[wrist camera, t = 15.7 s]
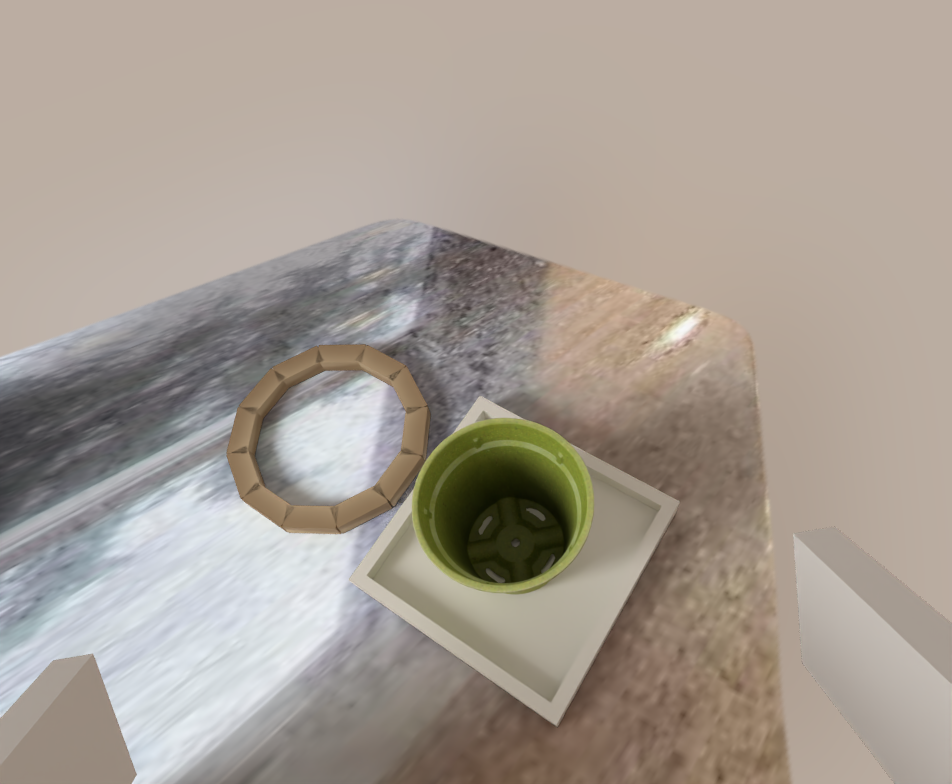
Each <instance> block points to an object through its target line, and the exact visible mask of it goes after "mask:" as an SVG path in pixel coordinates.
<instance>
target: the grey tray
mask: <svg viewBox="0 0 952 784" xmlns="http://www.w3.org/2000/svg"><path fill="white" fill-rule="evenodd" d="M493 418H516V419H523V418H521V417H519V416H517V415H515V414H513V413H512V412H510V411H508V410H506V409H504V408H502V407H500V406H498V405H496V404H495V403H493V402H491V401H489V400H487V399H485V398H483V397H481V396H479V398H478V399H477V401H476V402H475V403H474V405H473V406H472V408H471V409H470V410H469V412H468V413H467V415H466V416H465V417H464V419H463V420H462V422H461V423H460V424H459V426H458V427H457V429H456V430H455V431H454V433H455V432H457V431H458V430H460V429H462V428H464V427H466V426H468V425H470V424H473V423H475V422H479V421H483V420H487V419H493ZM524 420H525V419H524ZM571 445H572V444H571ZM572 446H573V447H574V448H575V450H576V451H577V452H578V453H579V455H580V456H581V458H582V459H583V461H584V463H585V465H586V467H587V469H588V472H589V475H590V478H591V481H592V485H593V490H594V516H593V521H592V526H591V529H590V532H589V535H588V537H587V540H586V542H585V544H584V546H583V548H582V549H581V551H580V553H579V554H578V555H577V557H576V558H575V559H574V560H573V562H572V563H571V564H570V565H569V566H568V567H567V568H566V569H565V570H564V571H562V572H561V573H560V574H559V575H557V576H556V577H555V578H553V579H551V580H550V581H549V582H548V583H547V584H546V585H544V586H543V587H541V588H540V589H537V590H535V591H532V592H529V593H524V594H506V593H491V592H484V591H480V590H476V589H473V588H470V587H467V586H465V585H462V584H460V583H458V582H456V581H454V580H452V579H451V578H450V577H448V576H447V575H445V574H444V573H443V572H442V571H440V570H439V569H438V568H437V567H436V566H435V565H434V564H433V563H432V562H431V561H430V559H429V558H428V557H427V555H426V554H425V552H424V551H423V549H422V548H421V545H420V544H419V542H418V539H417V536H416V533H415V530H414V527H413V520H412V494H413V490H414V489H413V490H412V492H411V493H410V494H409V496H408V497H407V499H406V500H405V501H404V503H403V504H402V506H401V507H400V508H399V510H398V511H397V513H396V514H395V515H394V517H393V518H392V520H391V521H390V522H389V524H388V525H387V527H386V528H385V529H384V531H383V532H382V534H381V535H380V536H379V538H378V539H377V541H376V542H375V543H374V545H373V546H372V548H371V549H370V550H369V552H368V553H367V555H366V556H365V557H364V559H363V560H362V562H361V563H360V564H359V566H358V567H357V569H356V570H355V571H354V573H353V574H352V576H351V577H350V578H349V581H351V582H352V583H353V584H354V585H355V586H357V587H358V588H359V589H361V590H362V591H364V592H365V593H366V594H368V595H369V596H371V597H372V598H373V599H375V600H376V601H378V602H379V603H381V604H382V605H383V606H385V607H386V608H388V609H389V610H391V611H392V612H393V613H395V614H396V615H398V616H399V617H401V618H402V619H403V620H405V621H406V622H408V623H409V624H411V625H412V626H413V627H415V628H416V629H418V630H419V631H420V632H422V633H423V634H425V635H426V636H428V637H429V638H430V639H432V640H433V641H435V642H436V643H438V644H439V645H440V646H442V647H443V648H445V649H446V650H448V651H449V652H450V653H452V654H453V655H455V656H456V657H457V658H459V659H460V660H462V661H463V662H465V663H466V664H467V665H469V666H470V667H472V668H473V669H475V670H476V671H477V672H479V673H480V674H482V675H483V676H485V677H486V678H487V679H489V680H490V681H492V682H493V683H494V684H496V685H497V686H499V687H500V688H502V689H503V690H504V691H506V692H507V693H509V694H510V695H512V696H513V697H514V698H516V699H517V700H519V701H520V702H522V703H523V704H524V705H526V706H527V707H529V708H530V709H531V710H533V711H534V712H536V713H537V714H539V715H540V716H541V717H543V718H544V719H546V720H547V721H549V722H550V723H551V724H553V725H554V726H556V727H558V726H559V724H560V722H561V720H562V718H563V716H564V715H565V713H566V711H567V709H568V707H569V706H570V704H571V702H572V700H573V698H574V697H575V695H576V693H577V691H578V689H579V687H580V686H581V684H582V682H583V680H584V678H585V677H586V675H587V673H588V671H589V669H590V668H591V666H592V664H593V662H594V660H595V658H596V657H597V655H598V653H599V651H600V649H601V648H602V646H603V644H604V642H605V640H606V639H607V637H608V635H609V633H610V631H611V629H612V628H613V626H614V624H615V622H616V620H617V619H618V617H619V615H620V613H621V611H622V610H623V608H624V606H625V604H626V602H627V600H628V599H629V597H630V595H631V593H632V591H633V590H634V588H635V586H636V584H637V582H638V581H639V579H640V577H641V575H642V573H643V571H644V570H645V568H646V566H647V564H648V562H649V561H650V559H651V557H652V555H653V553H654V552H655V550H656V548H657V546H658V544H659V542H660V541H661V539H662V537H663V535H664V533H665V532H666V530H667V528H668V526H669V524H670V523H671V521H672V519H673V517H674V515H675V513H676V511H677V509H678V506H679V503H680V501H678V500H676V499H674V498H672V497H670V496H669V495H667V494H665V493H663V492H661V491H659V490H657V489H655V488H653V487H652V486H650V485H648V484H646V483H644V482H642V481H640V480H638V479H636V478H635V477H633V476H631V475H629V474H627V473H625V472H623V471H621V470H619V469H617V468H616V467H614V466H612V465H610V464H608V463H606V462H604V461H602V460H600V459H599V458H597V457H595V456H593V455H591V454H589V453H587V452H585V451H583V450H582V449H580V448H578V447H576V446H574V445H572ZM526 510H527V511H530V513H532V514H534V515H535V516H537V517H538V518H539V519H540V520H542V521H544V520H545V516H544V515H543V514H542V513H541V512H539V511H538V510H535V509H532V508H528V509H527V508H526ZM492 519H493V518H492V516H488V517H487V518H486V519H485V520H484V521H483V524H482V526H481V527H480V529H479V534H480V535H481V534H483V531H484V530H485V528H486V527H487V525H488V524H489V523H490V521H492ZM519 544H520V541H519V540H518V539H514V540H513V541H512V545H513V546H514V547H517V546H518V545H519ZM554 559H555V556H554V554H551V556H550V558H549V560H548V562H547V563H546V565H545V566H544V568H543V569H542V570H541V573H544V572H545V571H547V570H548V569H549V568H550V567H551V565H552V564H553V562H554ZM486 573H487V574H488V575H489V576H490V577H491V578H493V579H494V580H495V581H497V582H498V583H504V582H505V579H504V578H503V577H500V576H498V575H496V574H495V573H494V572H493V571H492V570H491V569H489V568H487V569H486Z"/></svg>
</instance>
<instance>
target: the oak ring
mask: <svg viewBox="0 0 952 784" xmlns="http://www.w3.org/2000/svg"><path fill="white" fill-rule="evenodd" d="M273 369H274V370H273ZM273 369H272V368H271V369H270V370H269V371H268V372H267V373H266V375H265V376H264V377H263V378H262V379H261V380H260V382H259V383H258V384H257V385H256V386H255V387H254V389H253V390H252V391H251V392H250V393H249V394H248V396H247V397H246V398H245V399H244V400H243V401H242V403H241V404H240V405H239V406H240V407H238V409H237V413H236V417H235V421H234V425H233V429H232V433H231V437H230V441H229V445H228V449H227V454H228V455H226V456H227V459H228V462H229V465H230V468H231V471H232V474H233V477H234V480H235V483H236V486H237V489H238V492H239V495H240V498H241V499H242V500H243V501H244V502H245V503H247V504H248V505H249V506H251V507H252V508H253V509H255V510H256V511H258V512H259V513H261V514H262V515H263V516H265V517H266V518H268V519H269V520H271V521H272V522H273V523H275V524H276V525H278V526H279V527H281V528H282V529H283V530H285V531H286V532H289V533H319V534H341V532H342V533H345V532H347V531H349V530H351V529H353V528H355V527H357V526H359V525H361V524H363V523H365V522H367V521H368V520H370V519H372V518H374V517H376V516H378V515H380V514H382V513H384V512H386V511H388V510H390V509H392V507H391V505H392V506H393V507H394V506H395V505H396V503H397V502H398V500H399V499H400V498H401V496H402V495H403V494H404V492H405V491H406V489H407V488H408V487H409V485H410V484H411V482H412V481H413V480H414V478H415V477H416V475H417V474H418V473H419V471H420V470H421V468H422V466H423V465H424V462H425V461H426V454H427V445H428V435H429V426H430V416H431V414H430V411H429V408H428V406H427V404H426V402H425V400H424V398H423V396H422V394H421V393H420V391H419V389H418V387H417V385H416V383H415V381H414V379H413V377H412V375H411V374H410V372H409V370H408V368H407V367H406V365H404V364H402V363H400V362H398V361H396V360H395V359H393V358H391V357H389V356H387V355H385V354H383V353H382V352H380V351H378V350H376V349H374V348H372V347H370V346H368V345H367V346H366V345H365V344H362V345H319V347H317V346H315V347H313V348H311V349H309V350H307V351H305V352H303V353H301V354H299V355H296V356H294V357H292V358H290V359H288V360H286V361H284V362H282V363H280V364H278V365H276V366H274V367H273ZM333 370H363V371H365V372H367V373H369V374H371V375H372V376H374V377H376V378H378V379H380V380H381V381H383V382H385V383H387V384H389V385H390V386H392V387H394V389H395V391H396V393H397V395H398V397H399V399H400V401H401V403H402V405H403V407H404V409H405V411H406V414H405V422H404V430H403V438H402V446H401V451H400V452H399V453H398V455H397V456H396V458H395V459H394V460H393V462H392V463H391V464H390V466H389V467H388V468H387V470H386V471H385V472H384V474H383V475H382V477H381V478H380V479H379V481H378V482H377V483H376V485H375V486H373V487H371V488H369V489H367V490H365V491H363V492H361V493H359V494H357V495H355V496H353V497H351V498H349V499H347V500H345V501H343V502H341V503H340V504H338V505H336V506H298V505H290V504H289V503H287V502H286V501H284V500H283V499H281V498H280V497H278V496H277V495H275V494H274V493H273V492H271V491H270V490H268V489H267V488H266V487H265V484H264V481H263V478H262V475H261V473H260V470H259V467H258V464H257V461H256V459H255V452H256V447H257V443H258V439H259V434H260V430H261V426H262V421H263V418H264V417H265V416H266V415H267V414H268V412H269V411H270V410H271V409H272V408H273V406H274V405H275V404H276V403H277V402H278V400H279V399H280V398H281V397H282V396H283V394H284V393H285V392H286V391H287V390H288V388H290V387H292V386H294V385H296V384H298V383H300V382H302V381H304V380H306V379H309V378H311V377H313V376H315V375H317V374H319V373H321V372H323V371H333Z"/></svg>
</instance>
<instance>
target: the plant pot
mask: <svg viewBox="0 0 952 784" xmlns="http://www.w3.org/2000/svg"><path fill="white" fill-rule="evenodd" d="M526 508H527V509H528V508H532V509H535V510H538V511H539V512H541V513H542V514H543V515H544V516H545V520H544V521H542V520H540V519H539V518H538V517H537V516H535V515H534V514H532V513H530V511H527V510H526ZM488 516H492V518H493V519H492V521H490V523H489V524H488V525H487V527H486V528H485V530H484V531H483V534H481V535H480V534H479V529H480V527H481V526H482V524H483V521H484V520H485V519H486V518H487V517H488ZM593 516H594V490H593V485H592V481H591V478H590V475H589V472H588V469H587V467H586V465H585V463H584V461H583V459H582V458H581V456H580V455H579V453H578V452H577V451H576V450H575V448H574V447H573V446H572V445H571V444H570V443H569V442H568V441H567V440H565V439H564V438H563V437H562V436H561V435H559V434H558V433H556V432H555V431H553V430H551V429H550V428H547V427H545V426H543V425H541V424H538V423H536V422H532V421H529V420H524V419H516V418H493V419H487V420H483V421H479V422H475V423H473V424H470V425H468V426H466V427H464V428H462V429H460V430H458V431H457V432H455V433H453V434H452V435H450V436H449V437H447V438H446V439H445V440H443V441H442V442H441V443H440V444H439V445H438V446H437V447H436V448H435V449H434V451H433V452H432V453H431V455H430V456H429V457H428V458H427V460H426V461H425V463H424V465H423V466H422V468H421V470H420V472H419V475H418V477H417V480H416V483H415V486H414V490H413V494H412V520H413V527H414V530H415V533H416V536H417V539H418V542H419V544H420V545H421V548H422V549H423V551H424V552H425V554H426V555H427V557H428V558H429V559H430V561H431V562H432V563H433V564H434V565H435V566H436V567H437V568H438V569H439V570H440V571H442V572H443V573H444V574H445V575H447V576H448V577H450V578H451V579H452V580H454V581H456V582H458V583H460V584H462V585H465V586H467V587H470V588H473V589H476V590H480V591H484V592H491V593H506V594H524V593H529V592H532V591H535V590H537V589H540V588H541V587H543V586H544V585H546V584H547V583H548V582H549V581H550V580H551V579H553V578H555V577H556V576H557V575H559V574H560V573H561V572H562V571H564V570H565V569H566V568H567V567H568V566H569V565H570V564H571V563H572V562H573V560H574V559H575V558H576V557H577V555H578V554H579V553H580V551H581V549H582V548H583V546H584V544H585V542H586V540H587V537H588V535H589V532H590V529H591V526H592V521H593ZM514 539H518V540H519V541H520V544H519V545H518V546H517V547H514V546H513V545H512V541H513V540H514ZM551 554H554V556H555V559H554V562H553V564H552V565H551V567H550V568H549V569H548V570H547V571H545V572H544V573H541V570H542V569H543V568H544V566H545V565H546V563H547V562H548V560H549V558H550V556H551ZM487 568H489V569H491V570H492V571H493V572H494V573H495V574H496V575H498V576H500V577H503V578H504V579H505V582H504V583H498V582H497V581H495V580H494V579H493V578H491V577H490V576H489V575H488V574H487V573H486V569H487Z"/></svg>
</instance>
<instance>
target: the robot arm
mask: <svg viewBox="0 0 952 784" xmlns="http://www.w3.org/2000/svg"><path fill="white" fill-rule="evenodd" d="M793 538H794V553H795V568H796V583H797V597H798V612H799V627H800V642H801V657H802V664H803V665H804V666H805V668H806V669H807V670H808V671H809V673H810V674H811V675H812V677H813V678H814V679H815V681H816V682H817V683H818V685H819V686H820V687H821V688H822V690H823V691H824V692H825V694H826V695H827V696H828V698H829V699H830V700H831V701H832V703H833V704H834V705H835V707H836V708H837V709H838V711H839V712H840V713H841V714H842V716H843V717H844V718H845V720H846V721H847V722H848V724H849V725H850V726H851V728H852V729H853V730H854V731H855V733H856V734H857V735H858V737H859V738H860V739H861V741H862V742H863V743H864V745H865V746H866V747H867V748H868V750H869V751H870V752H871V754H872V755H873V756H874V757H875V759H876V760H877V761H878V763H879V764H880V765H881V767H882V768H883V769H884V771H885V772H886V773H887V775H888V776H889V777H890V778H891V780H892V781H893V782H894V784H952V623H951V622H950V621H949V620H947V619H946V618H945V617H944V616H943V615H941V614H940V613H939V612H938V611H936V610H935V609H934V608H933V607H932V606H931V605H929V604H928V603H927V602H926V601H924V600H923V599H922V598H921V597H920V596H918V595H917V594H916V593H915V592H914V591H912V590H911V589H910V588H909V587H908V586H906V585H905V584H904V583H902V582H901V581H900V580H899V579H898V578H897V577H895V576H894V575H893V574H892V573H891V572H889V571H888V570H887V569H885V567H883V566H882V565H881V564H880V563H878V562H877V561H876V560H875V559H874V558H873V557H871V556H870V555H869V554H868V553H866V552H865V551H864V550H863V549H862V548H860V547H859V546H858V545H857V544H856V543H854V542H853V541H852V540H850V538H848V537H847V536H846V535H845V534H844V533H842V532H841V531H840V530H839V529H837V528H836V527H835V526H834V527H829V528H822V529H816V530H812V531H805V532H799V533H794V534H793ZM136 775H137V774H136V772H135V769H134V766H133V763H132V761H131V758H130V755H129V752H128V749H127V747H126V744H125V741H124V738H123V735H122V733H121V730H120V727H119V724H118V722H117V719H116V716H115V713H114V710H113V708H112V705H111V702H110V699H109V697H108V694H107V691H106V688H105V685H104V683H103V680H102V677H101V674H100V672H99V669H98V666H97V663H96V660H95V658H94V655H93V654H88V655H83V656H77V657H71V658H65V659H59V660H53V661H52V662H51V663H50V664H49V666H48V667H47V668H46V669H45V670H44V671H43V672H42V673H41V674H40V675H39V677H38V678H37V679H36V680H35V681H34V682H33V683H32V684H31V685H30V687H29V688H28V689H27V690H26V691H25V692H24V693H23V694H22V695H21V696H20V698H19V699H18V700H17V701H16V702H15V703H14V704H13V705H12V706H11V707H10V709H9V710H8V711H7V712H6V713H5V714H4V715H3V716H2V717H1V718H0V784H132V782H133V780H134V778H135V777H136Z"/></svg>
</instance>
